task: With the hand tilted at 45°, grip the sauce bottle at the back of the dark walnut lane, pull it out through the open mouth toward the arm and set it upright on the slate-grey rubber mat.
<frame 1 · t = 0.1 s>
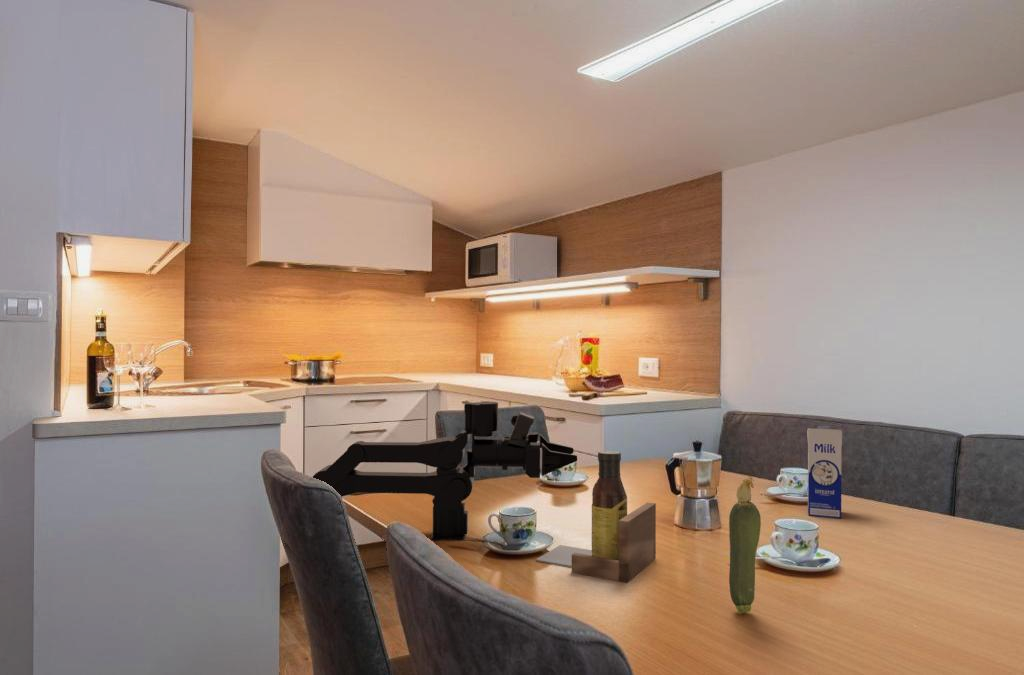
hand: (575, 454, 140), 17 cm above the table, tool horizontal, fingers open, 9 cm apart
milk carton: (824, 514, 159), on the table
walnut lane: (609, 564, 123), on the table
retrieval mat: (568, 556, 127), on the table
vegetable: (744, 613, 102), on the table
sauce bottle: (609, 565, 123), on the table
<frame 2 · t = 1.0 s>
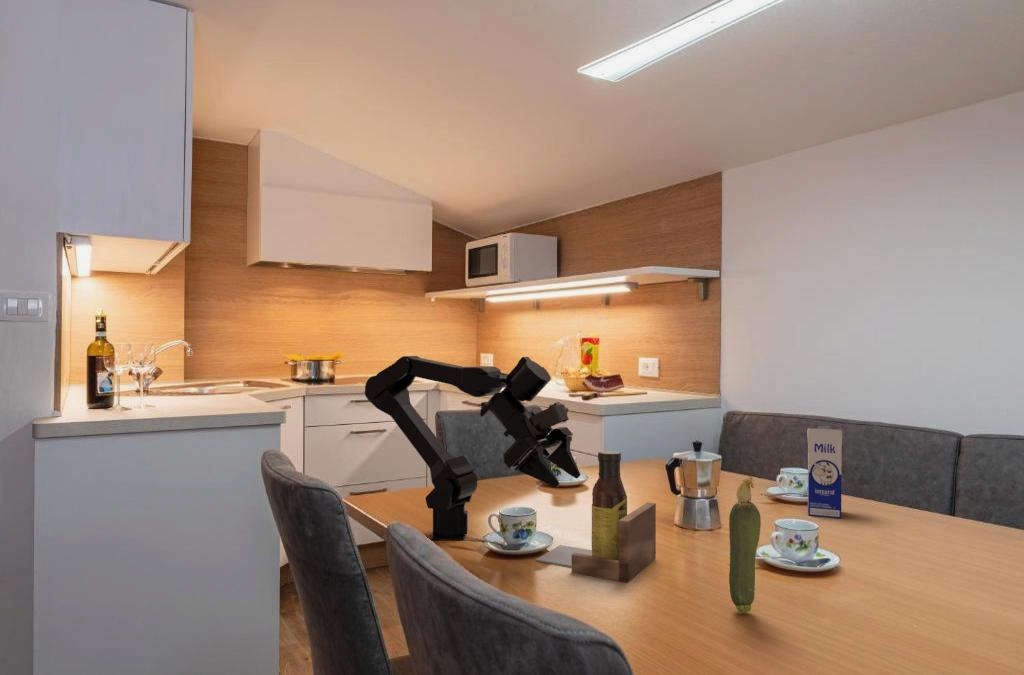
hand: (568, 481, 127), 14 cm above the table, tool tilted 45°, fingers open, 9 cm apart
nothing on the table moved.
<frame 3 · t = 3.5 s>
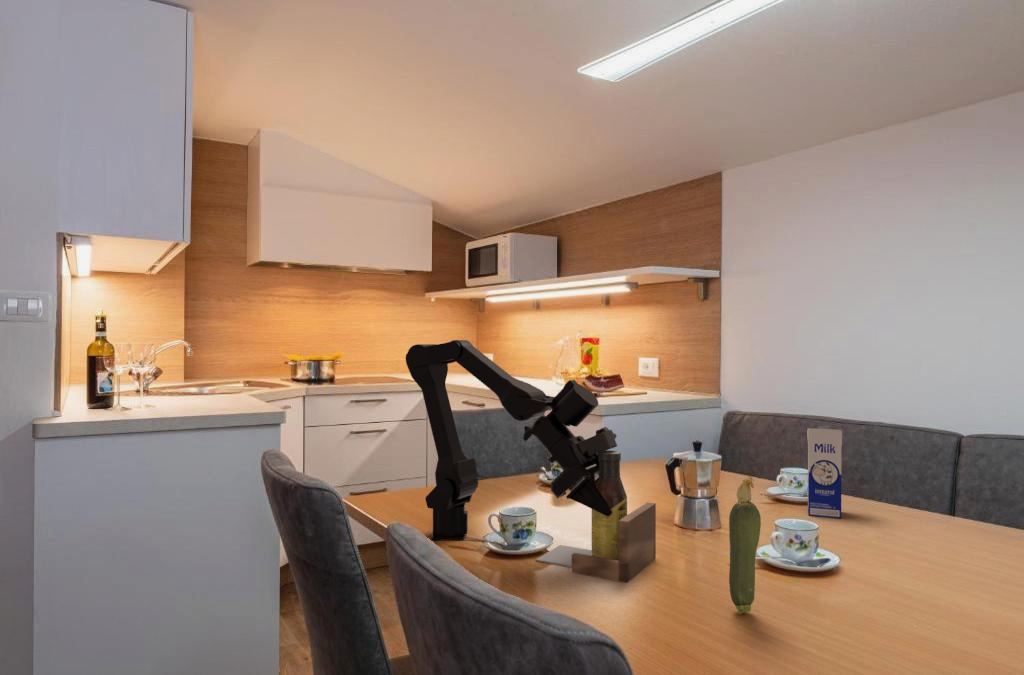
hand: (617, 510, 122), 10 cm above the table, tool tilted 45°, fingers closed on sauce bottle, 6 cm apart
sauce bottle: (609, 565, 123), on the table, touching gripper
everything else where it was.
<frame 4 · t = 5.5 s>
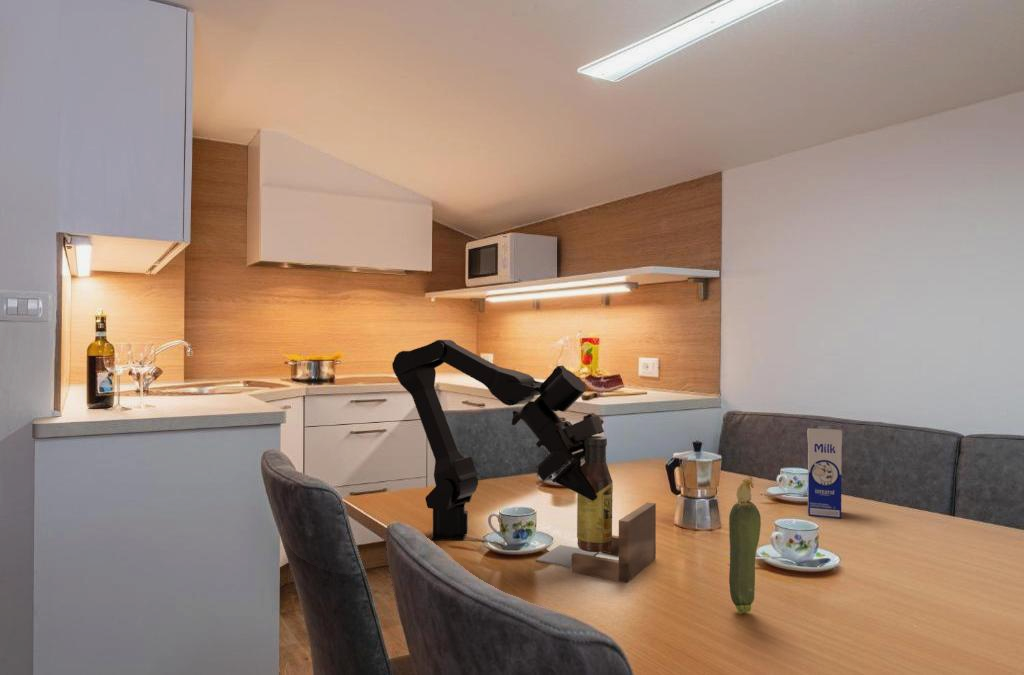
hand: (602, 495, 124), 12 cm above the table, tool tilted 45°, fingers closed on sauce bottle, 6 cm apart
sauce bottle: (594, 549, 124), point 2 cm above the table, touching gripper
everything else where it was.
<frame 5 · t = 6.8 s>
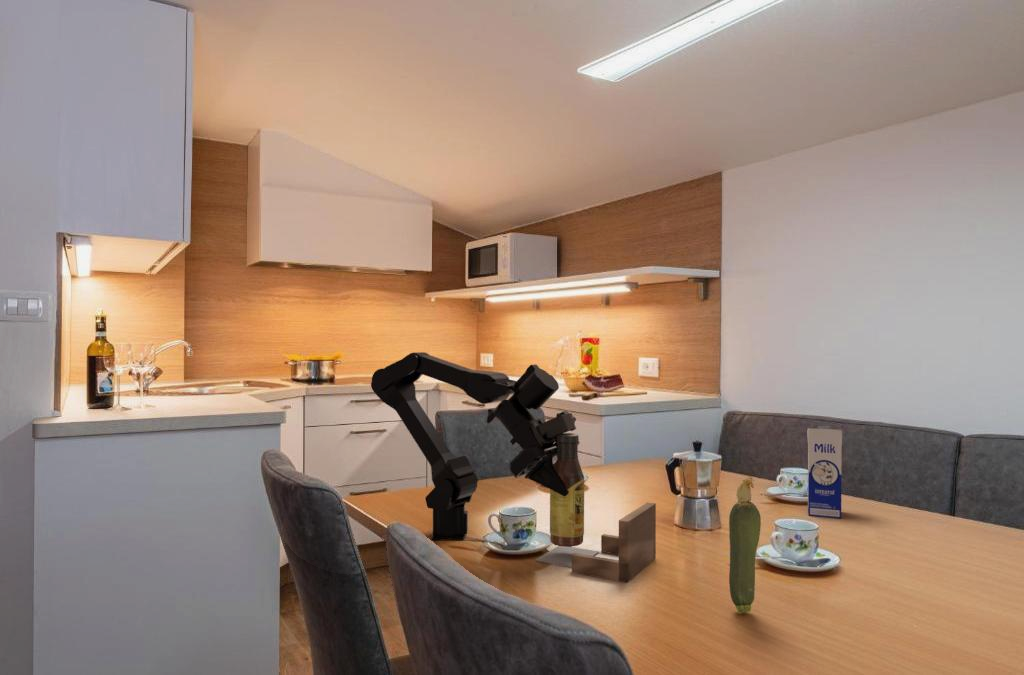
hand: (574, 491, 126), 12 cm above the table, tool tilted 45°, fingers closed on sauce bottle, 6 cm apart
sauce bottle: (566, 543, 127), point 2 cm above the table, touching gripper
everything else where it was.
when the fingers open (10 cm above the table, at t = 7.8 s): sauce bottle stays where it is, resting on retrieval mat.
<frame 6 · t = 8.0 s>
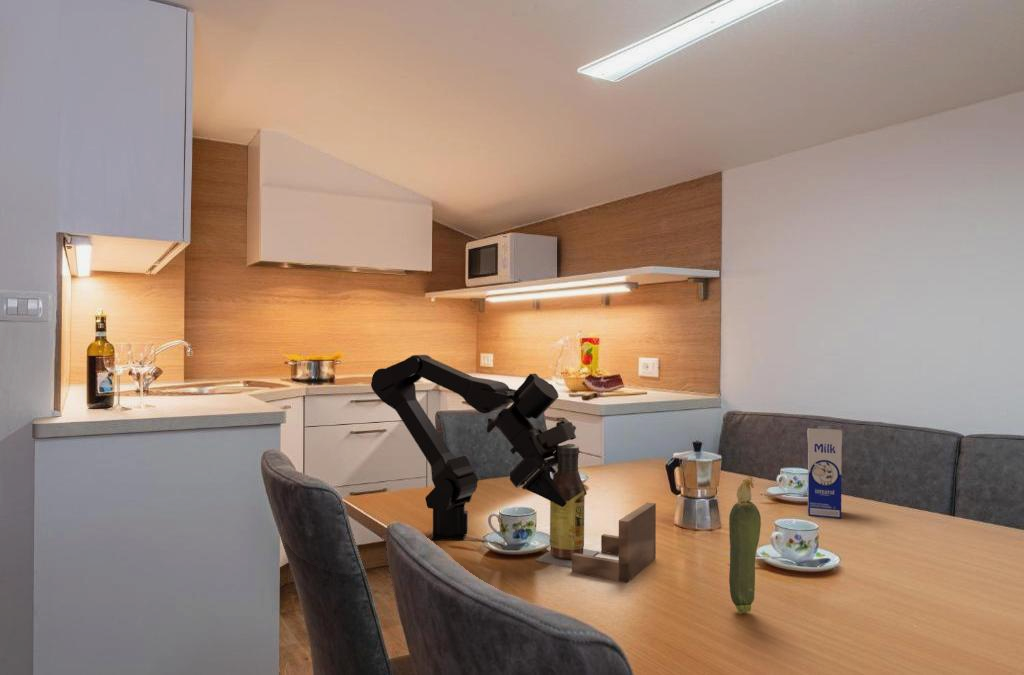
hand: (575, 500, 126), 11 cm above the table, tool tilted 45°, fingers open, 8 cm apart
sauce bottle: (566, 556, 127), resting on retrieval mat
everything else where it was.
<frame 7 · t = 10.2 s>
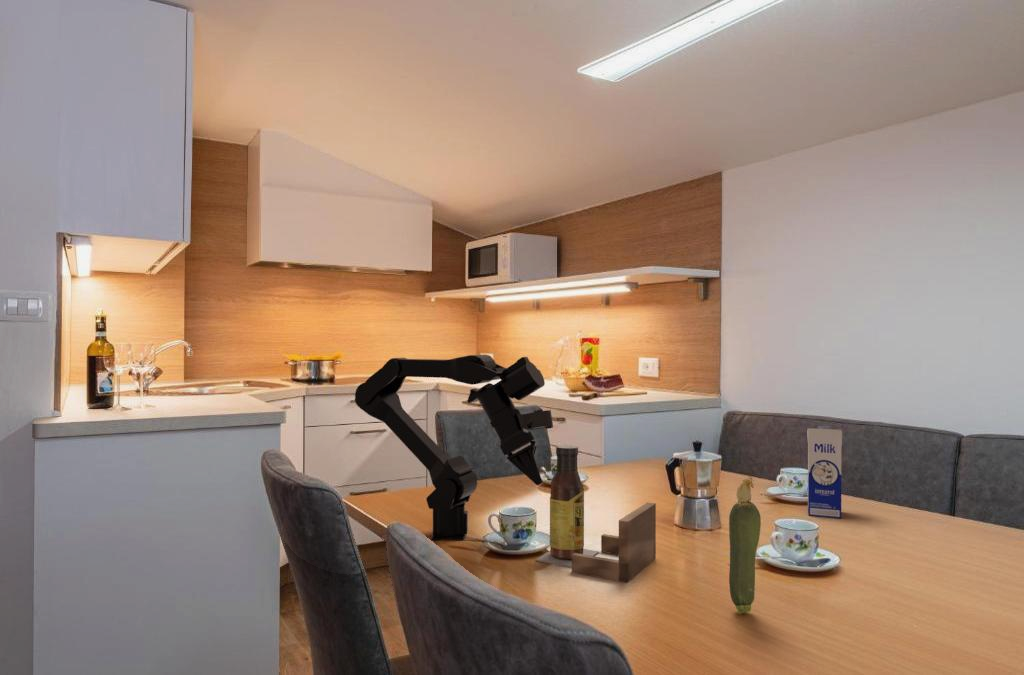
hand: (539, 484, 132), 12 cm above the table, tool tilted 30°, fingers open, 9 cm apart
nothing on the table moved.
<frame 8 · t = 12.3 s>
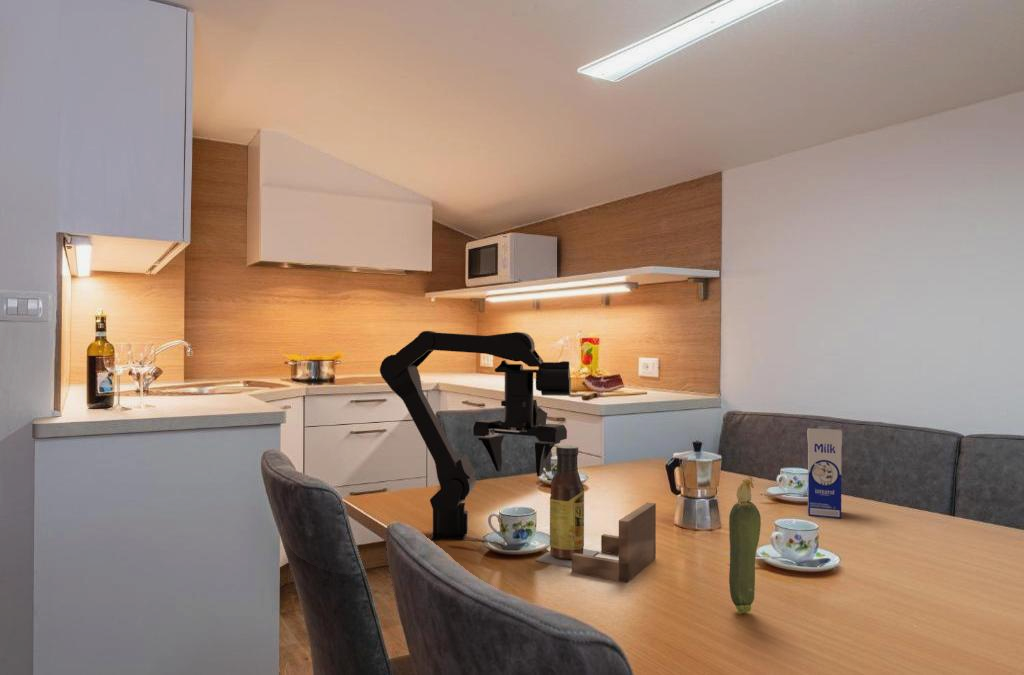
hand: (518, 473, 138), 13 cm above the table, tool pointing down, fingers open, 9 cm apart
nothing on the table moved.
at the end: sauce bottle 0.2 cm from the target spot, resting on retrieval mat; sauce bottle tilted 0°; the gripper is holding nothing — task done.
